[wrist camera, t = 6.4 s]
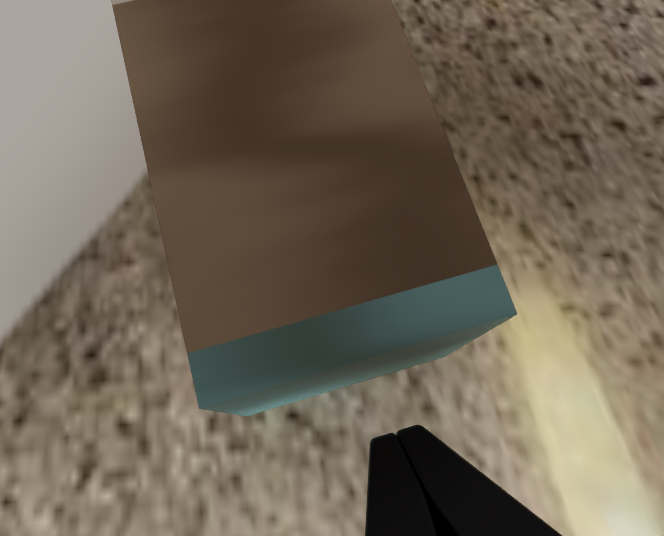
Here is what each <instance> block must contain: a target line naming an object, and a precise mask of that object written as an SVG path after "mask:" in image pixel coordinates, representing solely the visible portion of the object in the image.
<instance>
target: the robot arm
mask: <svg viewBox="0 0 664 536" xmlns="http://www.w3.org/2000/svg"><path fill="white" fill-rule="evenodd" d="M365 536H562V535H561V534H560V533H558V532H557V531H556V530H554V529H553V528H552V527H551V526H549V525H548V524H547V523H545V522H544V521H543V520H542V519H540V518H539V517H538V516H537V515H535V514H534V513H533V512H531V511H530V510H529V509H528V508H526V507H525V506H524V505H523V504H521V503H520V502H519V501H517V500H516V499H515V498H514V497H512V496H511V495H510V494H508V493H507V492H506V491H505V490H503V489H502V488H501V487H500V486H498V485H497V484H496V483H494V482H493V481H492V480H491V479H489V478H488V477H487V476H485V475H484V474H483V473H482V472H480V471H479V470H478V469H477V468H475V467H474V466H473V465H471V464H470V463H469V462H468V461H466V460H465V459H464V458H462V457H461V456H460V455H459V454H457V453H456V452H455V451H454V450H452V449H451V448H450V447H448V446H447V445H446V444H445V443H443V442H442V441H441V440H439V439H438V438H437V437H436V436H434V435H433V434H432V433H431V432H429V431H428V430H427V429H425V428H424V427H423V426H421V425H414V426H411V427H408V428H405V429H402V430H399V431H398V432H397V433H396V435H395V434H394V433H389V434H386V435H382V436H379V437H376V438H373V439H372V440H371V442H370V452H369V471H368V490H367V509H366V527H365Z"/></svg>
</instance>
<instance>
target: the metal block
mask: <svg viewBox="0 0 664 536" xmlns="http://www.w3.org/2000/svg"><path fill="white" fill-rule="evenodd" d="M111 1H112V6H113V11H114V15H115V20H116V25H117V29H118V33H119V38H120V43H121V48H122V52H123V57H124V62H125V66H126V71H127V76H128V79H129V85H130V90H131V94H132V99H133V103H134V108H135V113H136V117H137V122H138V127H139V131H140V136H141V141H142V145H143V150H144V154H145V159H146V164H147V169H148V173H149V178H150V182H151V187H152V192H153V196H154V201H155V206H156V210H157V215H158V220H159V224H160V229H161V234H162V238H163V243H164V247H165V252H166V257H167V261H168V266H169V271H170V275H171V280H172V285H173V289H174V294H175V298H176V303H177V308H178V312H179V317H180V322H181V326H182V331H183V336H184V340H185V345H186V350H187V354H188V359H189V363H190V368H191V373H192V377H193V382H194V387H195V391H196V396H197V401H198V405H199V409H205V410H211V411H217V412H223V413H230V414H236V415H242V416H249V415H252V414H256V413H259V412H262V411H266V410H269V409H272V408H276V407H279V406H282V405H286V404H289V403H292V402H296V401H299V400H302V399H306V398H309V397H312V396H315V395H319V394H322V393H325V392H329V391H332V390H335V389H339V388H342V387H345V386H349V385H352V384H355V383H359V382H362V381H365V380H369V379H372V378H375V377H379V376H382V375H385V374H389V373H392V372H395V371H398V370H402V369H405V368H408V367H412V366H415V365H418V364H422V363H425V362H428V361H432V360H435V359H438V358H442V357H445V356H447V355H449V354H450V353H452V352H454V351H455V350H457V349H459V348H461V347H462V346H464V345H466V344H467V343H469V342H471V341H472V340H474V339H476V338H478V337H479V336H481V335H483V334H484V333H486V332H488V331H489V330H491V329H493V328H495V327H496V326H498V325H500V324H501V323H503V322H505V321H506V320H508V319H510V318H512V317H513V316H515V315H517V312H516V309H515V307H514V304H513V302H512V299H511V297H510V294H509V292H508V289H507V287H506V285H505V282H504V280H503V277H502V275H501V272H500V270H499V267H498V265H497V262H496V260H495V257H494V255H493V252H492V250H491V247H490V245H489V242H488V240H487V237H486V235H485V232H484V230H483V227H482V225H481V222H480V220H479V217H478V215H477V213H476V210H475V208H474V205H473V203H472V200H471V198H470V195H469V193H468V190H467V188H466V185H465V183H464V180H463V178H462V175H461V173H460V170H459V168H458V165H457V163H456V160H455V158H454V155H453V153H452V150H451V148H450V145H449V143H448V141H447V138H446V136H445V133H444V131H443V128H442V126H441V123H440V121H439V118H438V116H437V113H436V111H435V108H434V106H433V103H432V101H431V98H430V96H429V93H428V91H427V88H426V86H425V83H424V81H423V78H422V76H421V73H420V71H419V69H418V66H417V64H416V61H415V59H414V56H413V54H412V51H411V49H410V46H409V44H408V41H407V39H406V36H405V34H404V31H403V29H402V26H401V24H400V21H399V19H398V16H397V14H396V11H395V9H394V6H393V4H392V1H391V0H111Z"/></svg>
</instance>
